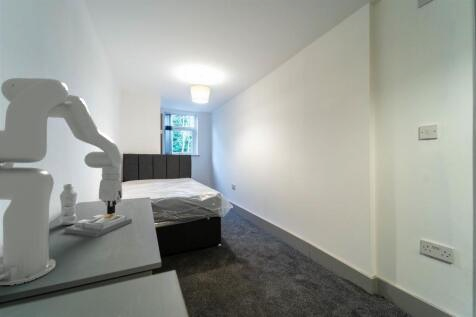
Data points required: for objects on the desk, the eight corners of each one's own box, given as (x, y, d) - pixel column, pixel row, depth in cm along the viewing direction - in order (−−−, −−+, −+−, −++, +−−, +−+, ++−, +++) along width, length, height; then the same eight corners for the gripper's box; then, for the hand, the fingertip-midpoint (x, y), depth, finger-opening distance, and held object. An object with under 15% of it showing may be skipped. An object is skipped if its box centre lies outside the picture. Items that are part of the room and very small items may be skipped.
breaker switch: (103, 225, 94) (102, 223, 93) (94, 224, 95) (93, 222, 94) (116, 217, 101) (116, 214, 101) (108, 216, 102) (108, 213, 102)
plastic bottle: (62, 223, 103) (62, 184, 102) (78, 221, 105) (78, 183, 105) (57, 227, 97) (57, 185, 96) (74, 225, 100) (74, 185, 99)
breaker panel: (96, 237, 87) (96, 227, 87) (64, 232, 91) (64, 223, 91) (131, 222, 106) (131, 214, 106) (104, 218, 111) (104, 211, 110)
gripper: (92, 177, 98) (92, 214, 99) (117, 178, 95) (117, 217, 95) (105, 175, 106) (105, 210, 106) (129, 176, 102) (129, 212, 103)
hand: (111, 213), depth 101 cm, fingers closed
